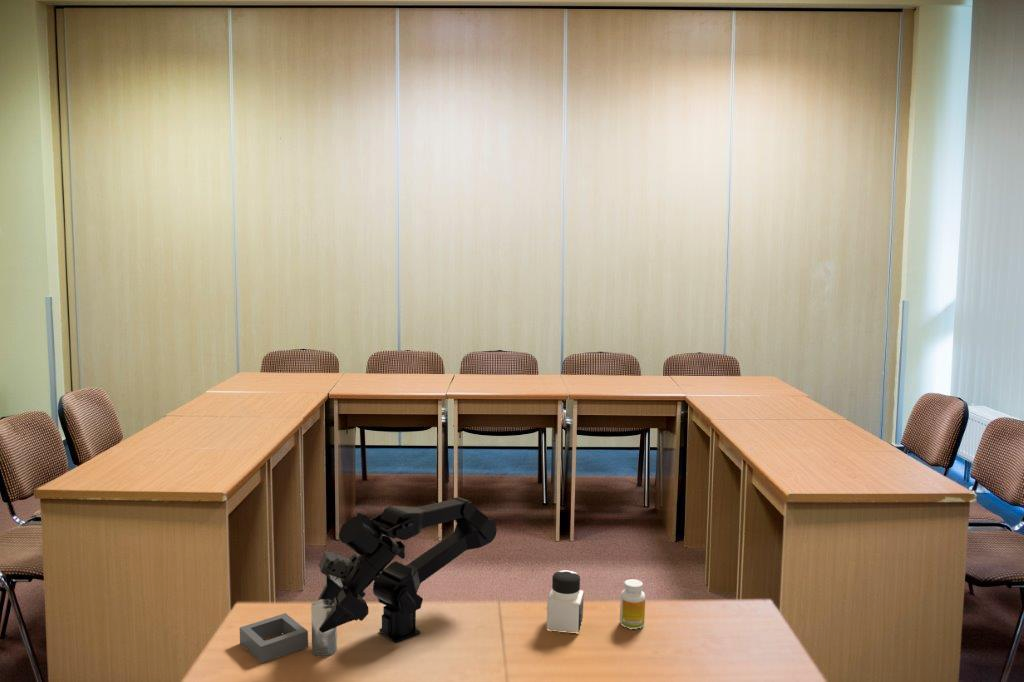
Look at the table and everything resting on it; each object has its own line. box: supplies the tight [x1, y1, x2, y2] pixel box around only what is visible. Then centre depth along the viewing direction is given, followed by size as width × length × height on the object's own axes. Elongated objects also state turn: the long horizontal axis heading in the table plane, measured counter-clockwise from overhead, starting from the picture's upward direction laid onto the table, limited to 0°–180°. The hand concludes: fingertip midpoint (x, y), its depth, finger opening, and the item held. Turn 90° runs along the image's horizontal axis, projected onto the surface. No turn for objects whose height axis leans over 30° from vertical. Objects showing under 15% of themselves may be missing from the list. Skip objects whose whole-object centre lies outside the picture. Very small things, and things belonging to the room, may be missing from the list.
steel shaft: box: [310, 599, 338, 658], centre depth 169 cm, size 5×5×10 cm
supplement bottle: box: [619, 578, 646, 629], centre depth 183 cm, size 5×5×10 cm
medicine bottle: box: [546, 569, 585, 633], centre depth 181 cm, size 7×7×12 cm
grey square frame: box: [239, 612, 309, 664], centre depth 171 cm, size 10×10×4 cm
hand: (317, 621), depth 168 cm, fingers open, 8 cm apart
